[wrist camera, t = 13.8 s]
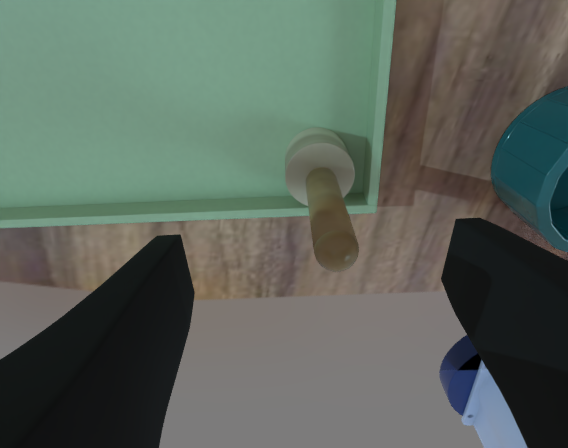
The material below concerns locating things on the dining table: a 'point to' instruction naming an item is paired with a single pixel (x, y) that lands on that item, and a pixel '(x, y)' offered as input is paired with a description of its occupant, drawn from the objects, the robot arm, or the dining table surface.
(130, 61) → the tray
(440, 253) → the dining table surface
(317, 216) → the brush
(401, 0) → the dining table surface
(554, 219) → the cup
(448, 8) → the dining table surface
